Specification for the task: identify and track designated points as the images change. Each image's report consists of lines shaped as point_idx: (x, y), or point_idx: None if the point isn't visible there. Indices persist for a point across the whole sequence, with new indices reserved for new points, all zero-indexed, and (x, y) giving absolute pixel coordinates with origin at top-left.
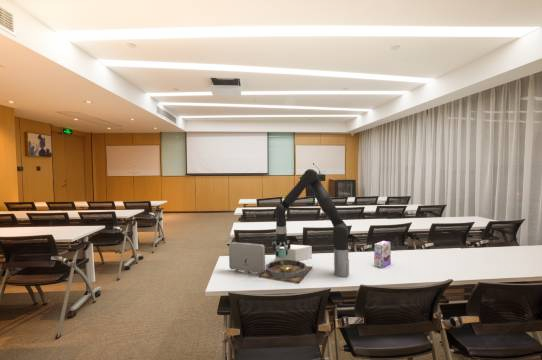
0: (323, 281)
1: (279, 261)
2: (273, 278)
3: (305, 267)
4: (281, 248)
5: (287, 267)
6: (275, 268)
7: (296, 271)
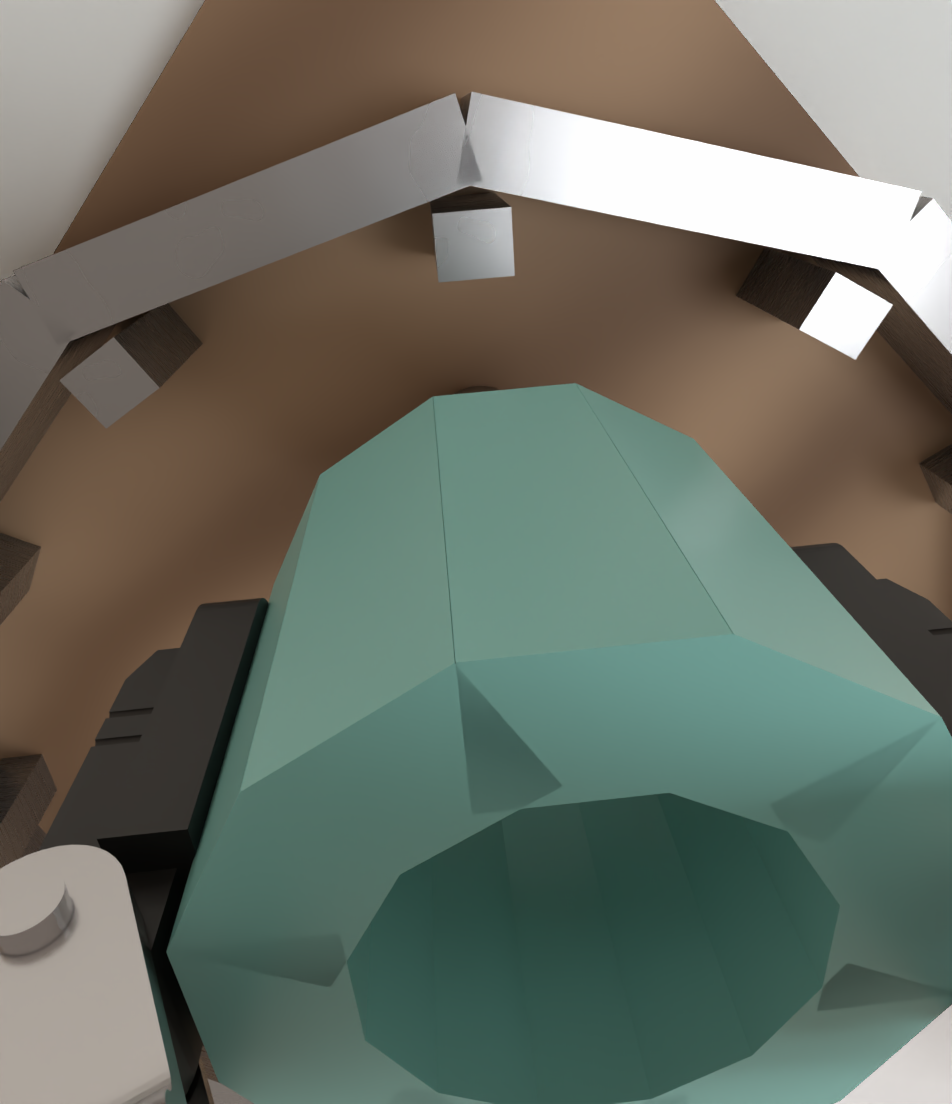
0: (904, 1086)
1: (451, 278)
2: None
3: None
4: (757, 681)
5: None
6: (236, 509)
7: None
